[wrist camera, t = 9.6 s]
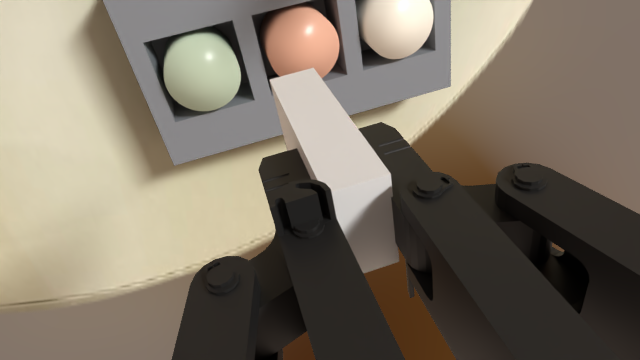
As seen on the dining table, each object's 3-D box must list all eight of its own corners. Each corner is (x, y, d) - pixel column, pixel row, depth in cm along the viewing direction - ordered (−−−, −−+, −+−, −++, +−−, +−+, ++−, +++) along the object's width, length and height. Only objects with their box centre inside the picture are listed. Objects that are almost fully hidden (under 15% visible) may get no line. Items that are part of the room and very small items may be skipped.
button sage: (153, 33, 39) (151, 50, 35) (223, 16, 39) (229, 30, 36) (178, 98, 42) (179, 119, 39) (242, 81, 43) (249, 100, 39)
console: (107, -21, 37) (99, -7, 33) (422, -95, 40) (450, -90, 36) (173, 139, 46) (174, 165, 42) (427, 68, 49) (450, 86, 45)
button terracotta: (252, 8, 40) (260, 22, 36) (319, -8, 40) (333, 4, 37) (268, 74, 43) (277, 92, 40) (329, 57, 44) (343, 74, 40)
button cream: (346, -15, 41) (363, -4, 37) (410, -31, 41) (432, -22, 38) (354, 50, 44) (371, 66, 41) (413, 35, 45) (434, 49, 41)
